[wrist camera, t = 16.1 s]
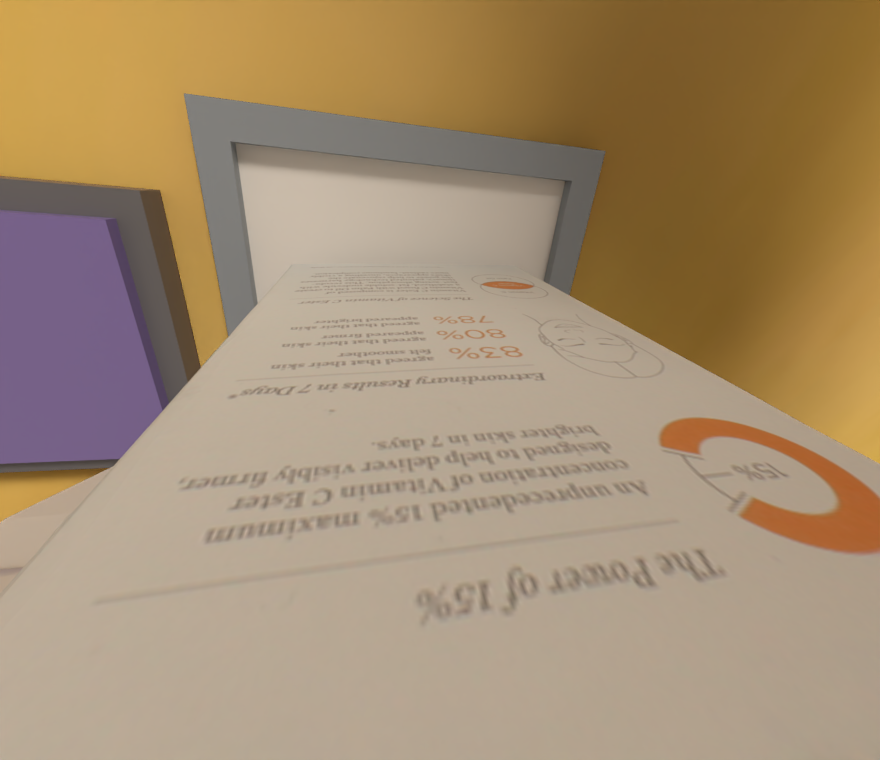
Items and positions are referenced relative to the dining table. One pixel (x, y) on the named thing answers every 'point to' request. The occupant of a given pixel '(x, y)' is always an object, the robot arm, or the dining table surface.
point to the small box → (453, 550)
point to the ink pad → (86, 322)
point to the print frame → (379, 196)
